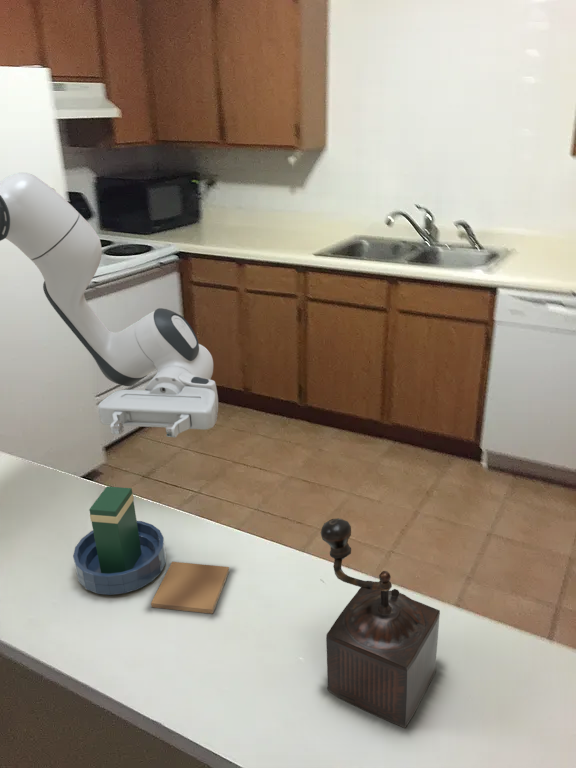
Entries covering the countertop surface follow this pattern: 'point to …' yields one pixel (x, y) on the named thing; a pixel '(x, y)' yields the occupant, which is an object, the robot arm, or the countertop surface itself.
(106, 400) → the robot arm
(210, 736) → the countertop surface
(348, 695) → the manual coffee grinder
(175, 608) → the cork mat
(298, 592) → the countertop surface
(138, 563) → the bowl
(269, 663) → the countertop surface
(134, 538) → the tea packet
